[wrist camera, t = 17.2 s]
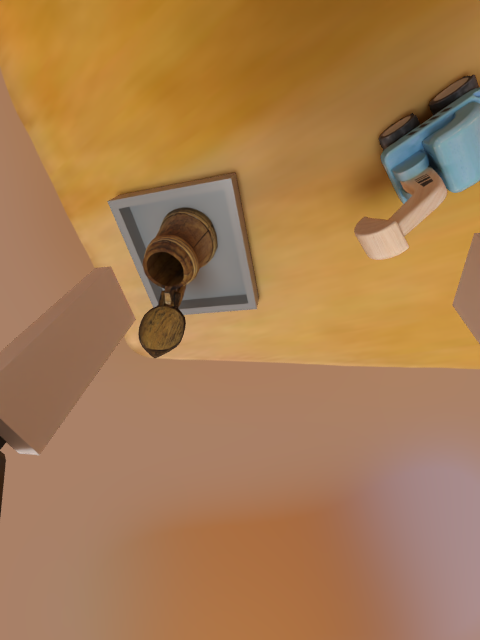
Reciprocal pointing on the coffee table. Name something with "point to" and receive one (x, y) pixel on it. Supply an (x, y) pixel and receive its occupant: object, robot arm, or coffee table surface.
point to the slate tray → (233, 247)
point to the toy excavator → (426, 165)
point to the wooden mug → (174, 274)
